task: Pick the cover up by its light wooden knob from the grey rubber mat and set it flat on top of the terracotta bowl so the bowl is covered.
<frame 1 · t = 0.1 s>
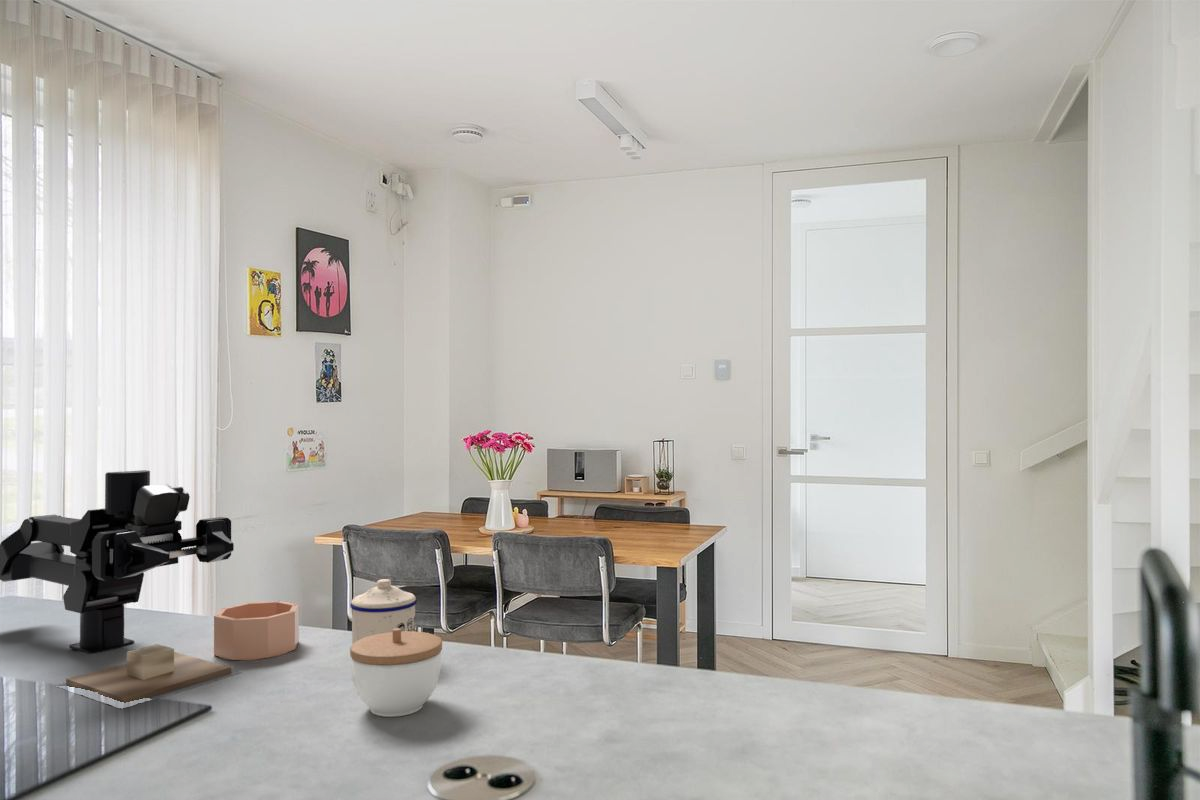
hand: (201, 552, 110), 17 cm above the kitchen counter, tool horizontal, fingers open, 9 cm apart
lidded jar: (396, 709, 97), on the kitchen counter
mat: (150, 681, 107), on the kitchen counter
bowl: (257, 650, 121), on the kitchen counter
cover: (150, 678, 107), resting on mat
teacup with lid: (388, 660, 116), on the kitchen counter
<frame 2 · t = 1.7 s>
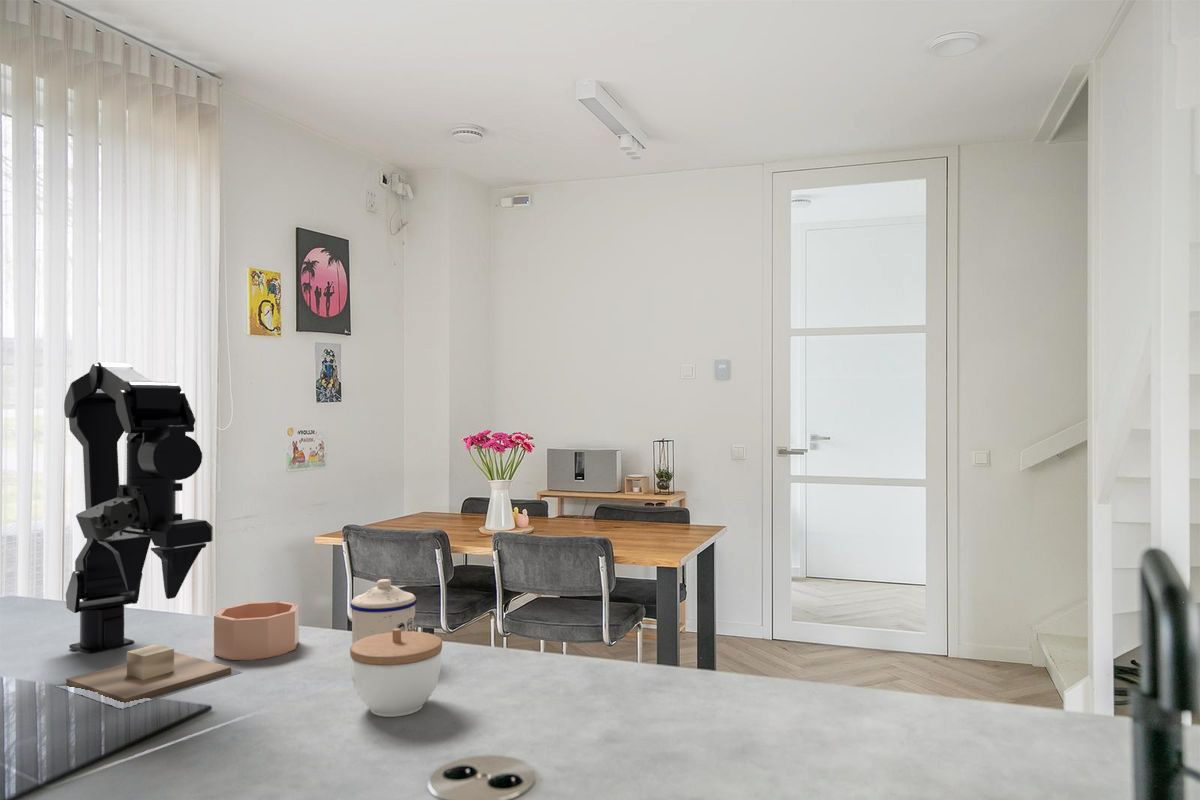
hand: (150, 594, 107), 11 cm above the kitchen counter, tool pointing down, fingers open, 9 cm apart
nothing on the kitchen counter moved.
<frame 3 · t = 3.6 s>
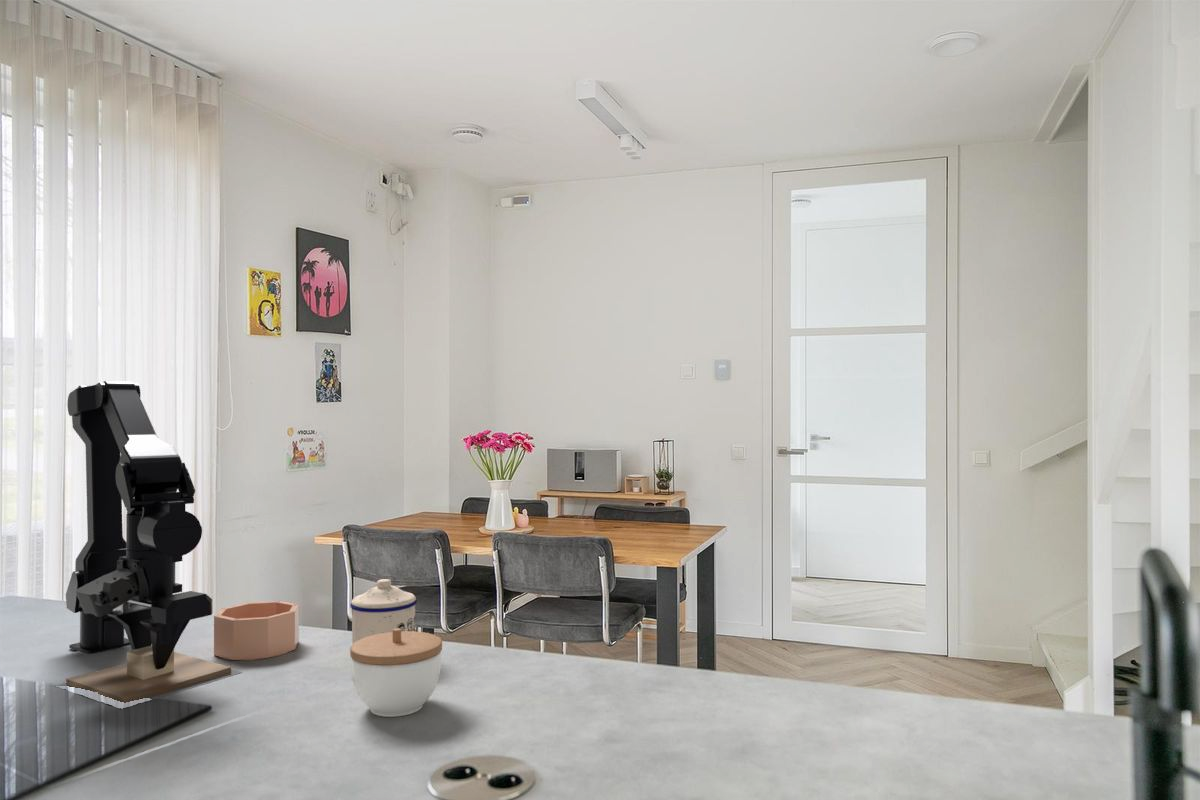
hand: (150, 665, 107), 2 cm above the kitchen counter, tool pointing down, fingers closed on cover, 4 cm apart
cover: (150, 678, 107), resting on mat, touching gripper
everything else where it was.
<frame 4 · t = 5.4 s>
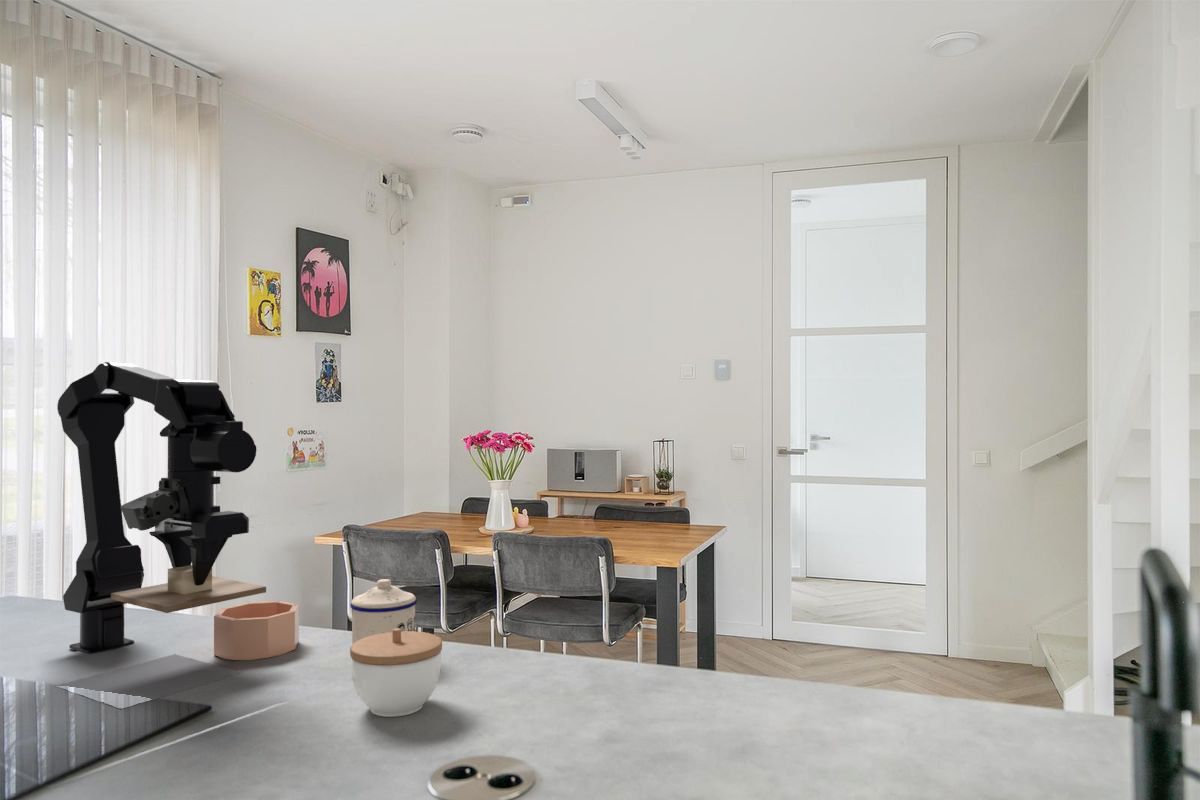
hand: (190, 583, 112), 12 cm above the kitchen counter, tool pointing down, fingers closed on cover, 4 cm apart
cover: (189, 595, 112), point 10 cm above the kitchen counter, touching gripper
everything else where it was.
when the fingers open (9 cm above the kitchen counter, at t = 7.4 s): cover drops 1 cm, resting on bowl.
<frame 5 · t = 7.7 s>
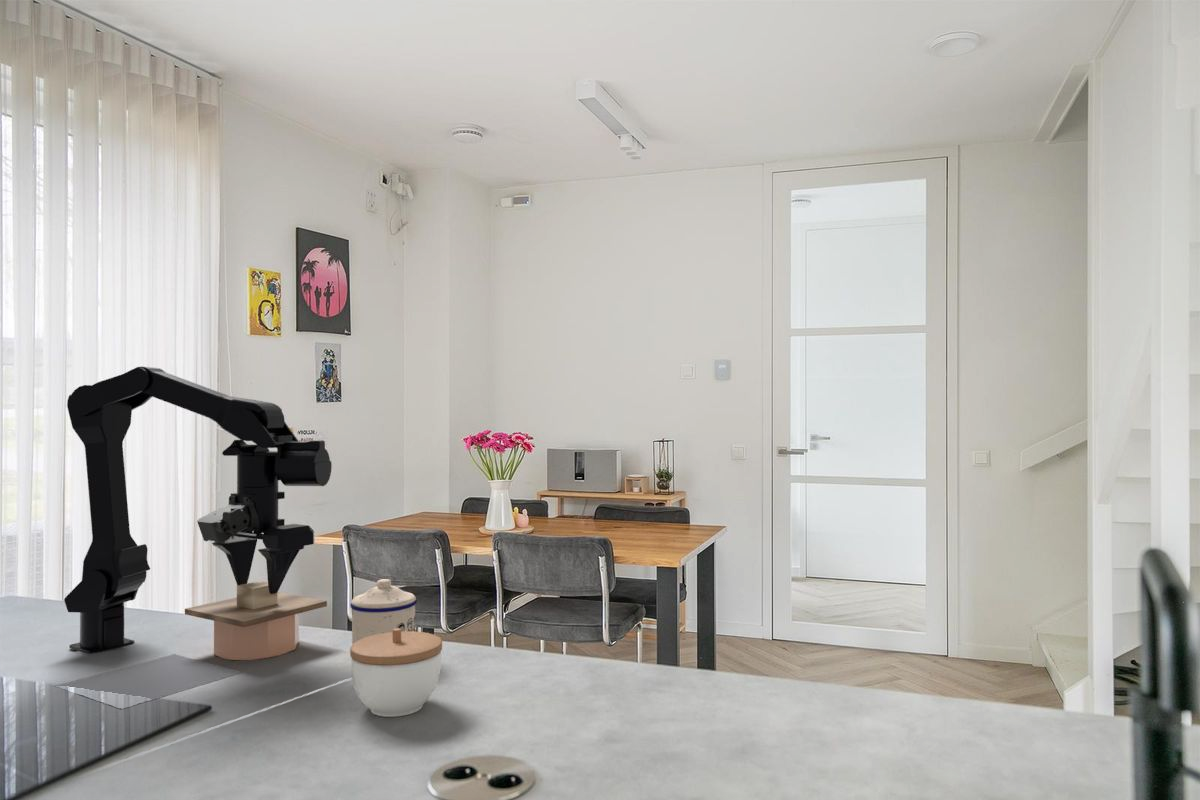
hand: (257, 590, 121), 9 cm above the kitchen counter, tool pointing down, fingers open, 7 cm apart
cover: (257, 610, 121), point 6 cm above the kitchen counter, touching bowl
everything else where it was.
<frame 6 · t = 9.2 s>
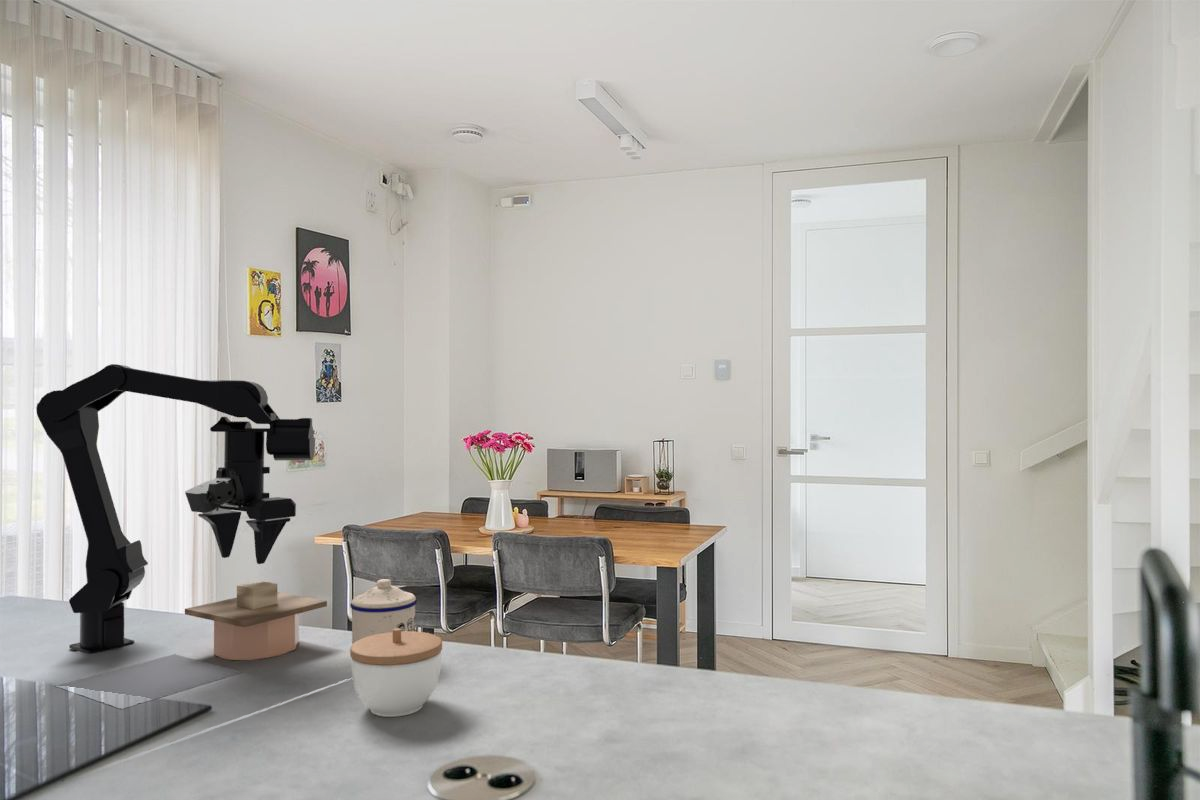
hand: (242, 560, 127), 12 cm above the kitchen counter, tool pointing down, fingers open, 9 cm apart
nothing on the kitchen counter moved.
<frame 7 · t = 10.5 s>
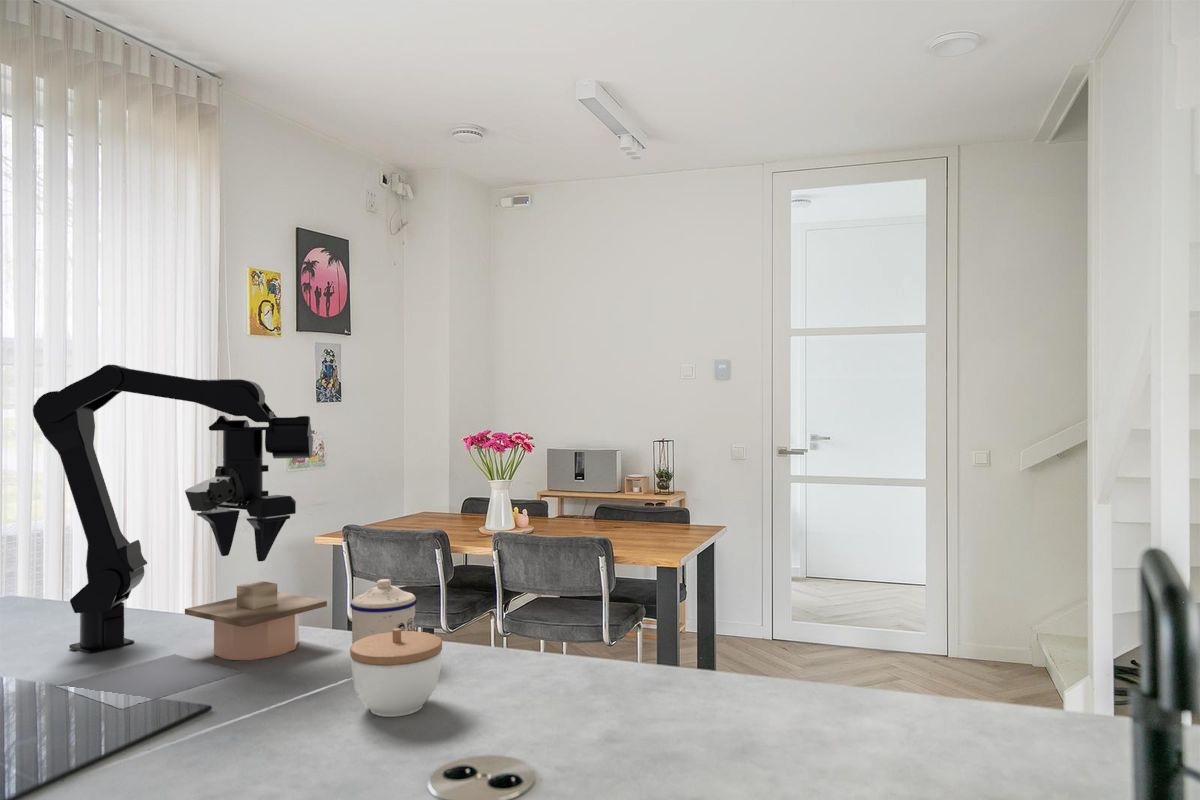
hand: (242, 558, 128), 13 cm above the kitchen counter, tool pointing down, fingers open, 9 cm apart
nothing on the kitchen counter moved.
at the end: cover 0.1 cm off-centre on the bowl, point 6.0 cm above the bowl's base; cover tilted 0°; the gripper is holding nothing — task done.
